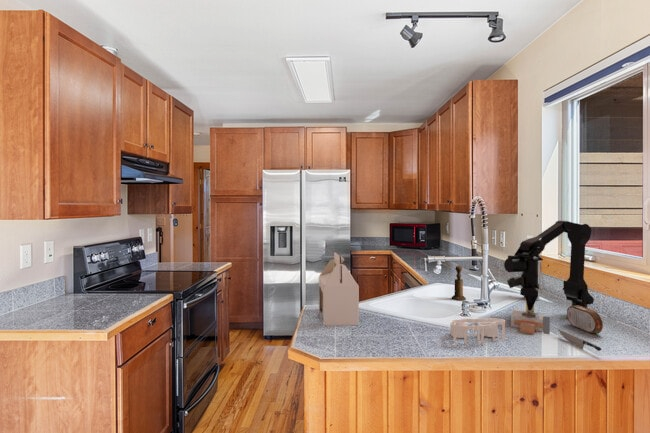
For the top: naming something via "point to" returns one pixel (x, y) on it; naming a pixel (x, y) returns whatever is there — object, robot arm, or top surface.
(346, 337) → the top surface
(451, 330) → the car outline toy
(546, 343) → the top surface
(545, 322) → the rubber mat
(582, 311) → the tin
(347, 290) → the gable box
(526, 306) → the brass pin
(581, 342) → the chef's knife
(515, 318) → the clevis bracket
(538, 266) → the water bottle
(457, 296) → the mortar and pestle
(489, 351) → the top surface
